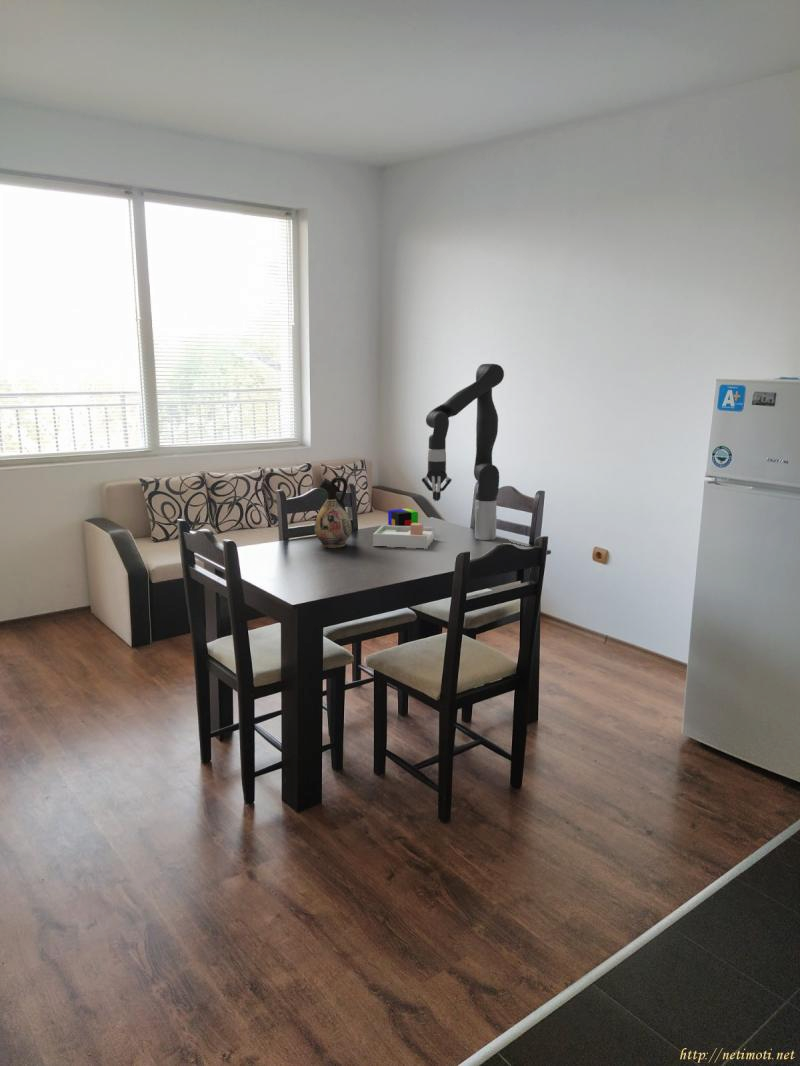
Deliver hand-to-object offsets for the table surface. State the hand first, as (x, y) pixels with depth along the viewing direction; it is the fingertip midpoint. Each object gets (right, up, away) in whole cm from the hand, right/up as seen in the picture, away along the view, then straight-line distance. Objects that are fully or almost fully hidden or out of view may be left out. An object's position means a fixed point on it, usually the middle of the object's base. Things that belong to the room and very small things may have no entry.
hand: (436, 500), depth 323 cm
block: (-8, -14, +5) cm, 17 cm away
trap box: (-14, -18, +7) cm, 24 cm away
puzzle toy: (-14, -14, +28) cm, 34 cm away
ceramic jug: (-43, -19, +1) cm, 47 cm away
